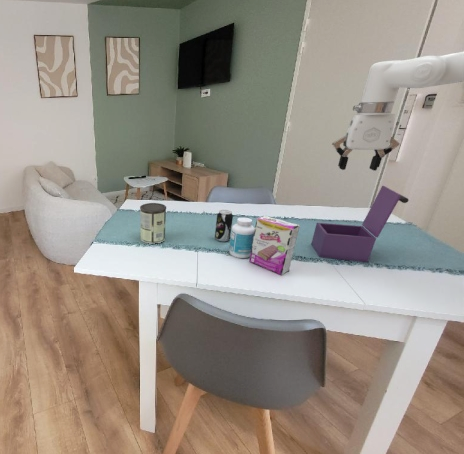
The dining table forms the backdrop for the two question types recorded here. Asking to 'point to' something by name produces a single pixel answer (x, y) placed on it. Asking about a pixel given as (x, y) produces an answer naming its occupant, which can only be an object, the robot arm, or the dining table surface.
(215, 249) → the dining table surface
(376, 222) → the lid
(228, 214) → the beverage can
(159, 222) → the coffee can
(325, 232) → the box
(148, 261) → the dining table surface
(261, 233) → the candy bar box
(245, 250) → the pill bottle
